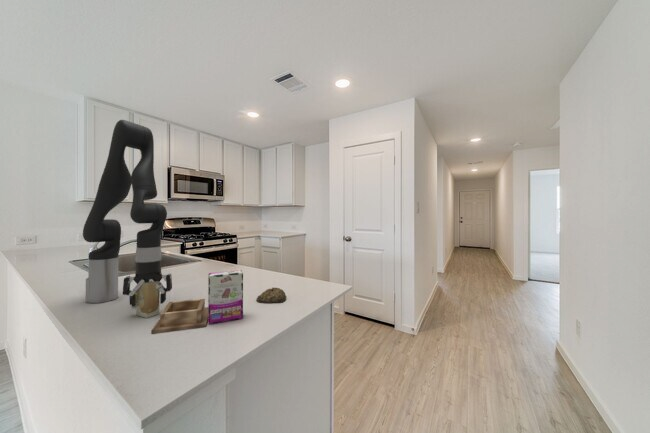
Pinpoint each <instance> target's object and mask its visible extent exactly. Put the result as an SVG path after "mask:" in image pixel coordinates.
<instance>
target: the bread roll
mask: <svg viewBox="0 0 650 433" xmlns="http://www.w3.org/2000/svg"><path fill="white" fill-rule="evenodd" d="M286 298H287V296H286V292H285V291H284V290H283V289H281V288H279V287H271V288H268V289H266V290H264V291H263V292H262V293H261V294H259V295H258V296H257V297H256V299H255V300H256V302H257V303H263V304H280V303H283V302H285V301H286Z"/></svg>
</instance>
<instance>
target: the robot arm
mask: <svg viewBox="0 0 650 433" xmlns="http://www.w3.org/2000/svg"><path fill="white" fill-rule="evenodd" d="M154 145H155V144H154V134H153V131H152V130H151V129H150V128H149V127H147V126H145V125H142V124H138V123H135V122H133V121H130V120H125V119H120V120H118V121H117V122H116V123H115V125H114V129H113V131H112V136H111V142H110V145H109V146H110V147H109V150H108V156H107V159H106V163H105V165H104V168H103V171H102V175H101V177H100V180H99V183H98V187H97V192H96V194H95V198H94V201H93V204H92V207H91V209H90V211H89V214H88V215H87V217H86V220H85V222H84V225H83V229H82V237H83V239H84V241H85V242H86V243H102V242H103V243H104V244H103V245H102V246H100V247H98V248H97V249H93V250H92V251H90V252H88V277H87V278H86V279H85V294H84V295H85V304H86V303H90V304H94V303H95V304H97V303H98V304H99V303H106V302H110V301H114V300H116V299H117V298H119V256H120V255H119V254H120V251H121V239H122V238H121V237H122V236H121V235H122V226H121V223H120V222H119V220H117V219H113V218H111V219H110V218H109V219H106V217H107V215H108V214H109V213H110V211H112V210H113V209H114V208H116V207H117V206H118V205H119V204H121V203H122V202H123V201H124V200H126V198H127V197H128V195H129V193H130V190H131V188H132V192H133V194H132V196H133V197H132V203H131V208H130V213H129V214H130V219H131V220H132V221H133V222H134V223H135V224H151V226H150V227H149V228H147V229H143V230H140V231H137V234H136V250H135V256H134V260H135V263H134V264H135V266H134V267H135V268H134V269H135V270H134V271H135V272H134V274H135V275H134V276H131V275H128V276H126V277H124V278H123V285H122V295H124V296H129V305H130V306H131V307H133V308H134V307H136V306H137V303H136V294H135V293H136V292H137V290H138V289H139V288H140V287H141V285H142V284H143V283H144V282H156V281H157V282H159V281H160V285H158V284H157V283H156V289H157V290H159V291H160V296H159V305H160V304H162V305H163V304H164V303H165V302H166V300H167V293H168V292H171V290H173V279H172V273H168V274H162V247H161V245H162V242H161V241H162V232H163V229H164V226H165V223H166V220H167V217H168V216H167V215H168V211H167V208H166V207H165V206H164V205H163V204H161V203H145V201H150V200H153V199H156V198H157V197H158V189H157V185H156V179H155V171H154V169H155V168H154V167H155V166H154V164H155V163H154V162H155V161H154V160H155V159H154V158H155V157H154V156H155V154H154V151H155V150H154V149H155V148H154ZM126 148H131V149H136V150H139V151H140V155H141V156H140V159H139V161H138V162H137V164H136V165H135V167H134V168H133V170H132V173H131V172H130V170H129V168H128V166H127V163H126V160H125V151H126ZM162 279H163V280H164V281H165V282H166V284H165V285H166V287H165V286H164V285H163V283H162V282H161V281H162ZM133 281H134V282H135V283H136V285H135V286H134V288H133V289H131V283H133Z"/></svg>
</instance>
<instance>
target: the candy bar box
mask: <svg viewBox="0 0 650 433" xmlns="http://www.w3.org/2000/svg"><path fill="white" fill-rule="evenodd" d="M207 275H208V278H207V281H208V282H207V283H208V284H207V285H208V287H207V288H208V290H207V291H208V292H207V295H208V298H207V304H208V306H207V307H208V321H207V324H208V325H214V324H219V323H226V322H231V321H236V320H242V319H244V271H243V270H241V269H239V270H229V271H227V270H226V271H218V272H217V271H216V272H208V274H207Z"/></svg>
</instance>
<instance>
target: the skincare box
mask: <svg viewBox="0 0 650 433" xmlns="http://www.w3.org/2000/svg"><path fill="white" fill-rule="evenodd" d="M160 282H161V280H160V281H159V282H157V281H156V282H144V283H143V284H142V285H141V287H140V288H139V289H138V290H137V303H136V306H135V308H136V311H135V314H136V316H138V317H142V318H145V319H149V318H151V317H154V316H157V315H160V294H161V292H160V291H159V290H157V289H156V283H157V284H158V285H160Z"/></svg>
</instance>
